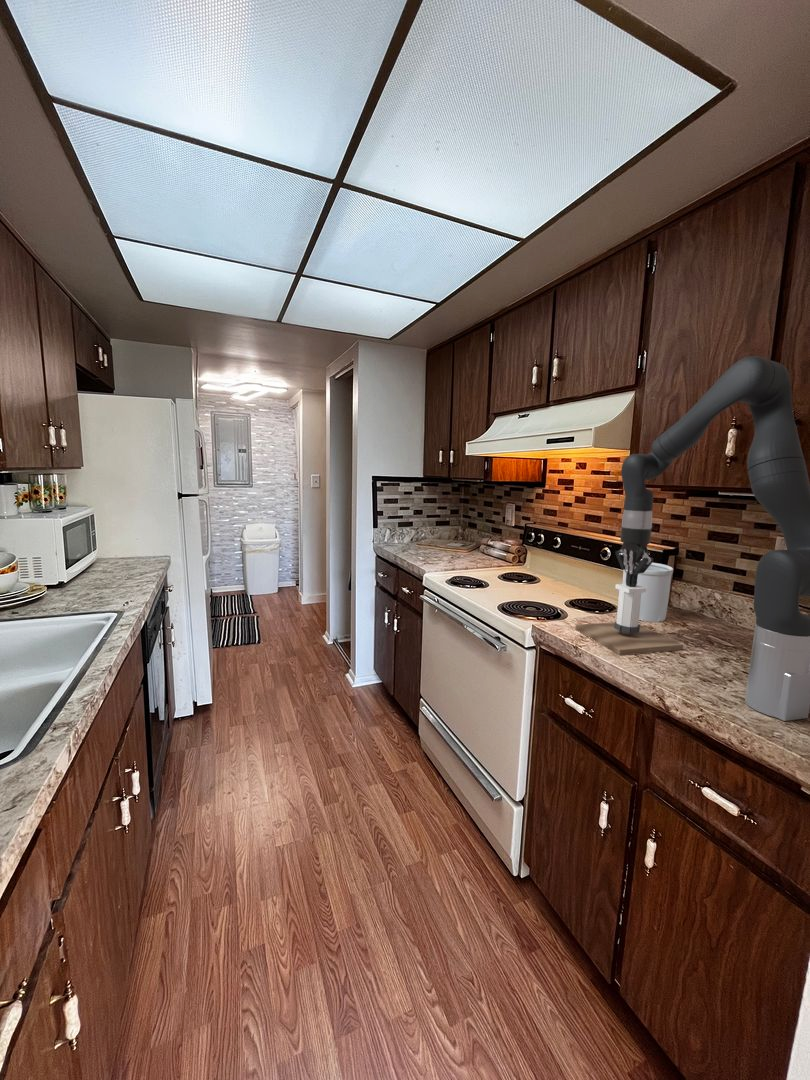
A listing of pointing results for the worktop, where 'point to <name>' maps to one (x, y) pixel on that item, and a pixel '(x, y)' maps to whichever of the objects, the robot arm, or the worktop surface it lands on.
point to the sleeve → (629, 605)
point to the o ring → (627, 628)
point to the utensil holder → (654, 591)
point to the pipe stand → (628, 639)
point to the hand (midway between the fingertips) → (630, 586)
